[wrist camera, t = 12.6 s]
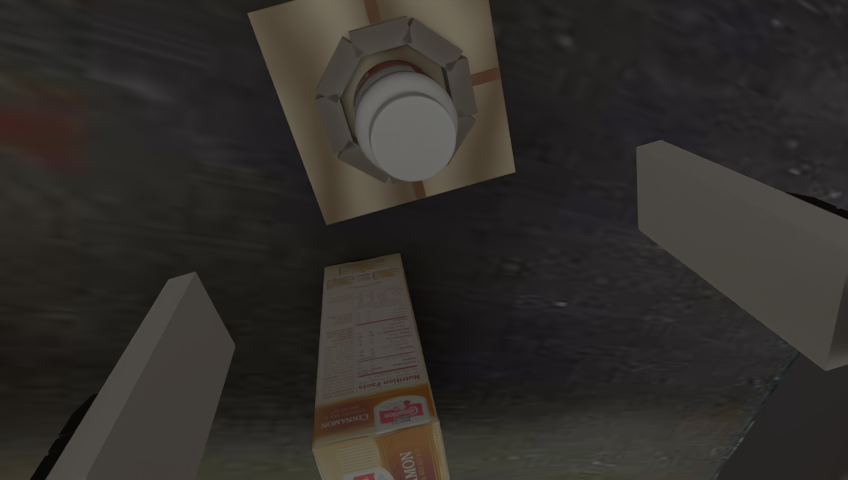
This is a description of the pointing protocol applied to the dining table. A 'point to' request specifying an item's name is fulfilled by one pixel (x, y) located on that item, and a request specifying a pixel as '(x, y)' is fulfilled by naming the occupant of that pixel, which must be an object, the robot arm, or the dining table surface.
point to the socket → (347, 63)
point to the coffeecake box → (373, 380)
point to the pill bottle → (404, 120)
